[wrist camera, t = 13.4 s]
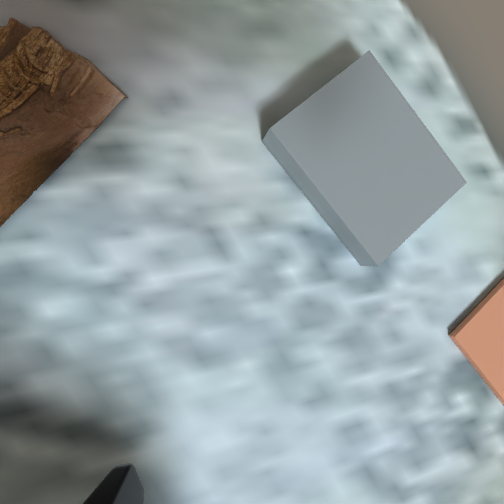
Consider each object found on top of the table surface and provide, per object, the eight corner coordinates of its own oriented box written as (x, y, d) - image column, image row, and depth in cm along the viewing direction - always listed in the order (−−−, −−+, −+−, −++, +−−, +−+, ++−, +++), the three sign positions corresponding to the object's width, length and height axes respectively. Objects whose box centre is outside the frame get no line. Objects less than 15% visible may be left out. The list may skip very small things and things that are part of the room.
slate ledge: (442, 189, 23) (466, 182, 21) (360, 265, 21) (378, 265, 19) (353, 69, 22) (369, 50, 20) (261, 141, 20) (269, 128, 18)
